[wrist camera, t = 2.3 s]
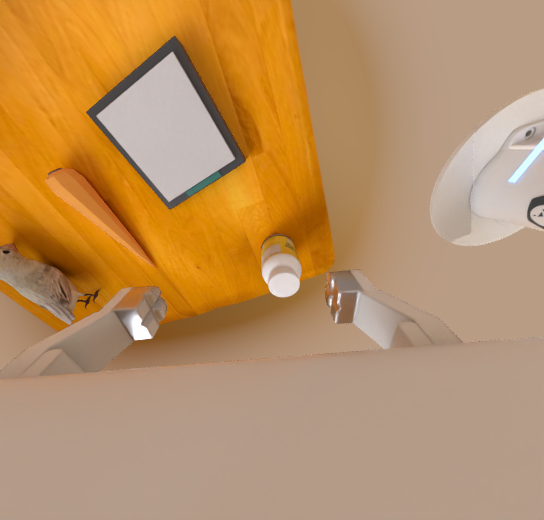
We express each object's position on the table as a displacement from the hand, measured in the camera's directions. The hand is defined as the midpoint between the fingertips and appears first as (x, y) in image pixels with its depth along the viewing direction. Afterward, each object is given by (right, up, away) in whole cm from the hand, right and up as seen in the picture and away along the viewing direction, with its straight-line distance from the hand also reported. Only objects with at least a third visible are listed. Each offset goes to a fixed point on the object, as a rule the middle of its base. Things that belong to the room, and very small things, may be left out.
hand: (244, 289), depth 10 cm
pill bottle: (+2, +4, +29) cm, 30 cm away
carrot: (-25, +7, +25) cm, 36 cm away
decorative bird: (-40, -1, +29) cm, 49 cm away
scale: (-12, +19, +19) cm, 29 cm away
